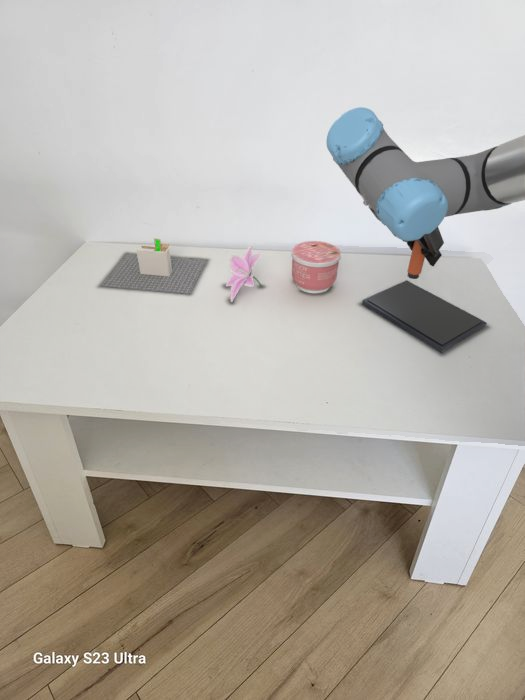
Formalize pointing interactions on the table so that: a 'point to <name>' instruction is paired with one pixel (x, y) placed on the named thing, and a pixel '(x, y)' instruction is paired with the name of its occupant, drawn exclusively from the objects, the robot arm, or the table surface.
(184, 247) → the table surface
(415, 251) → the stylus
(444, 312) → the plate
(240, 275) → the lily
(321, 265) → the container
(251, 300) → the table surface
